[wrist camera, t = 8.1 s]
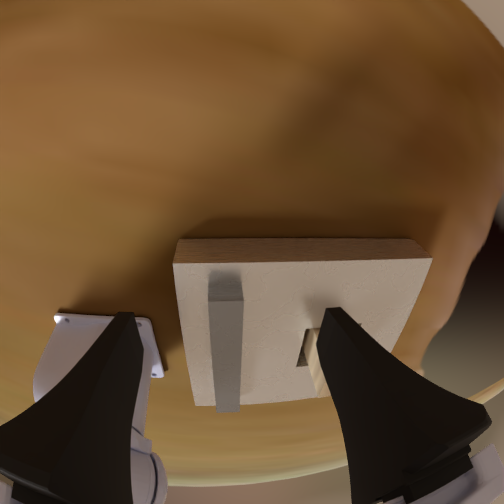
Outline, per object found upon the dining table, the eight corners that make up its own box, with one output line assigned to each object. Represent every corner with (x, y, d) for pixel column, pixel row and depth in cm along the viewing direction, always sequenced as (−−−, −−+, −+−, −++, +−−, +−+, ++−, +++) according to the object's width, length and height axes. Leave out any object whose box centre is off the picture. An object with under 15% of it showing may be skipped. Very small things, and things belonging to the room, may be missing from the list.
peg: (297, 331, 24) (318, 397, 18) (303, 303, 23) (329, 372, 17) (331, 328, 25) (357, 390, 19) (339, 301, 23) (372, 365, 17)
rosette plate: (196, 381, 27) (195, 419, 23) (178, 239, 19) (169, 279, 15) (361, 366, 29) (375, 398, 25) (412, 239, 21) (444, 269, 17)
